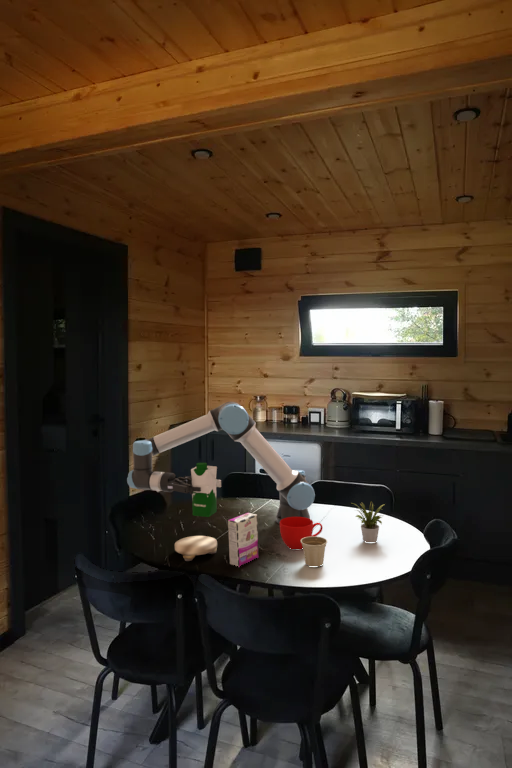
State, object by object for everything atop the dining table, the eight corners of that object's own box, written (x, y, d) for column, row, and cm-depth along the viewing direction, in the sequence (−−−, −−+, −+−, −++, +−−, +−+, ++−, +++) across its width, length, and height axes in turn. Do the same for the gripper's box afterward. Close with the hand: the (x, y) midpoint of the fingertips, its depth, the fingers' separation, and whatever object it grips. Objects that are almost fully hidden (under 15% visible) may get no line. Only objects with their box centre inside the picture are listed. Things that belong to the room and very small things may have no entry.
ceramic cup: (327, 551, 199) (327, 525, 198) (283, 554, 196) (283, 528, 195) (317, 539, 211) (317, 514, 211) (276, 542, 209) (276, 517, 208)
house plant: (345, 545, 204) (344, 504, 203) (352, 533, 217) (351, 495, 216) (382, 550, 199) (382, 507, 198) (387, 537, 211) (387, 497, 210)
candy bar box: (248, 554, 197) (248, 511, 196) (259, 557, 193) (258, 514, 192) (228, 564, 188) (227, 519, 187) (238, 567, 185) (237, 522, 184)
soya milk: (189, 516, 199) (188, 464, 198) (199, 509, 208) (198, 459, 207) (210, 518, 196) (209, 465, 195) (220, 511, 205) (219, 460, 204)
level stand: (224, 548, 204) (223, 538, 203) (205, 564, 189) (205, 553, 188) (187, 543, 209) (187, 533, 209) (167, 558, 194) (166, 548, 194)
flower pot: (299, 560, 191) (298, 536, 190) (324, 558, 192) (324, 535, 191) (303, 570, 181) (303, 546, 181) (330, 569, 182) (329, 544, 182)
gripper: (178, 484, 218) (227, 489, 210) (148, 498, 198) (202, 504, 190) (177, 466, 218) (226, 470, 210) (148, 478, 198) (201, 483, 189)
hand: (215, 486), depth 200 cm, fingers closed on soya milk, 9 cm apart
